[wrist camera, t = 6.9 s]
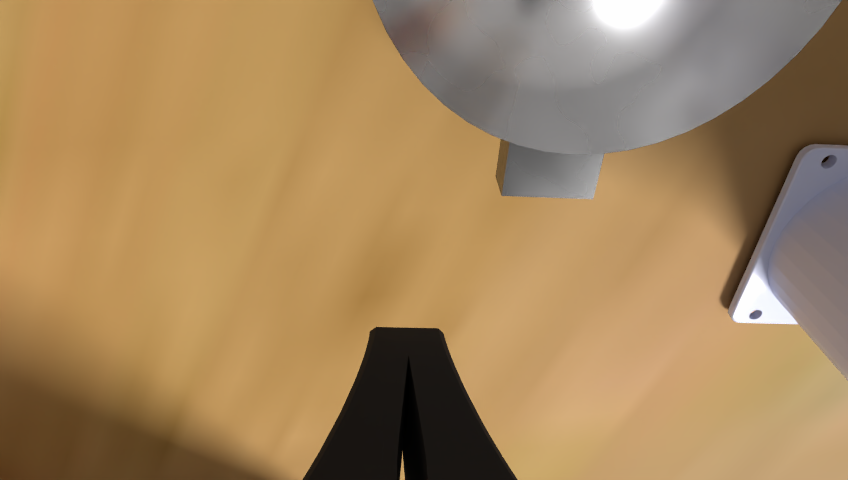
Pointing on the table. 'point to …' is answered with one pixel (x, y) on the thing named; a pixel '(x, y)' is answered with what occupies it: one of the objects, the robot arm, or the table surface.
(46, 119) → the table surface
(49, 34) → the table surface
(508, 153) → the pot
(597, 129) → the lid
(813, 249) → the robot arm
